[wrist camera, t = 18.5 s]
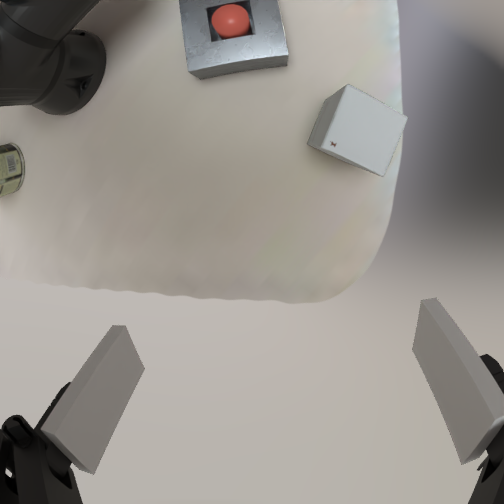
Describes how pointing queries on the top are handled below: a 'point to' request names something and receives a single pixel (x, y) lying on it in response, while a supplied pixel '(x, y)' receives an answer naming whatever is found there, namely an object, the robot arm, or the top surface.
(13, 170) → the coffee can
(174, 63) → the top surface
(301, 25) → the top surface
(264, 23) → the grey button housing
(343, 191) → the top surface
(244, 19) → the button
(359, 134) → the supplement box
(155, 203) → the top surface
